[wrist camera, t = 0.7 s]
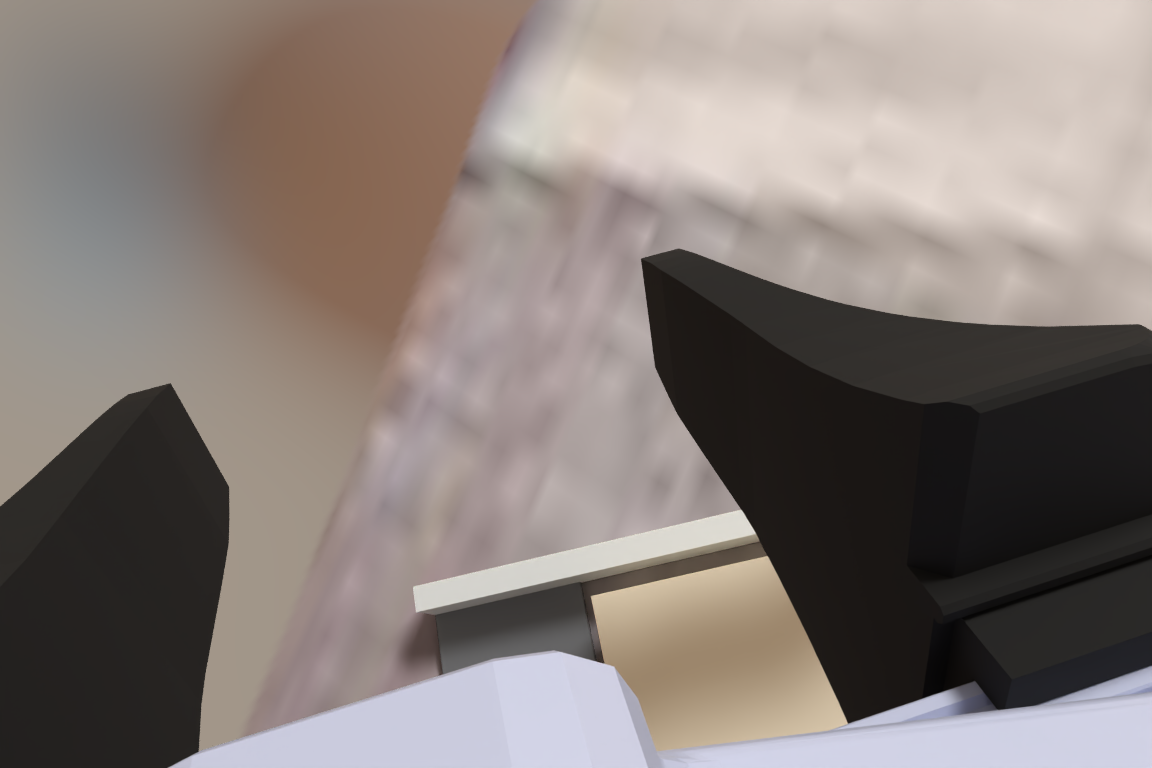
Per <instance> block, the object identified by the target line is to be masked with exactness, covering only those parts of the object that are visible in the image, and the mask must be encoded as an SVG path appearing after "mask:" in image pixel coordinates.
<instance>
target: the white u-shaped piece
mask: <svg viewBox="0 0 1152 768" xmlns="http://www.w3.org/2000/svg"><path fill="white" fill-rule="evenodd" d="M756 542H760V540H759V538H758V537H757V535H756V533H755V531H754V529H753V528H752V526H751V524H750V523H749V521H748V520H747V518H746V516H745V515H744V513H743V511H742V510H738V511H734V512H730V513H725V514H721V515H717V516H713V517H708V518H704V519H700V520H696V521H691V522H687V523H683V524H678V525H674V526H670V527H666V528H661V529H657V530H653V531H649V532H644V533H640V534H636V535H632V536H627V537H623V538H619V539H614V540H610V541H606V542H602V543H597V544H593V545H589V546H585V547H580V548H576V549H572V550H568V551H563V552H559V553H555V554H551V555H546V556H542V557H538V558H533V559H529V560H525V561H521V562H516V563H512V564H508V565H504V566H499V567H495V568H491V569H487V570H482V571H478V572H474V573H470V574H465V575H461V576H457V577H452V578H448V579H444V580H440V581H435V582H431V583H427V584H423V585H418V586H414V587H413V590H414V598H415V607H416V612H418V613H425V614H432V615H435V617H436V624H437V632H438V640H439V647H440V655H441V663H442V670H443V674H446V673H450V672H453V671H456V670H459V669H462V668H465V667H469V666H472V665H475V664H478V663H481V662H485V661H488V660H491V659H495V658H502V657H510V656H517V655H524V654H531V653H539V652H546V651H553V650H554V651H559V652H563V653H566V654H570V655H574V656H577V657H581V658H585V659H588V660H592V661H596V656H595V651H594V646H593V641H592V636H591V631H590V626H589V621H588V616H587V611H586V606H585V601H584V596H583V590H582V585H581V583H582V582H586V581H590V580H595V579H599V578H603V577H608V576H612V575H617V574H621V573H625V572H630V571H634V570H638V569H643V568H647V567H651V566H656V565H660V564H664V563H669V562H673V561H678V560H682V559H686V558H691V557H695V556H699V555H704V554H708V553H712V552H717V551H721V550H725V549H730V548H734V547H739V546H743V545H747V544H752V543H756ZM596 662H597V661H596Z"/></svg>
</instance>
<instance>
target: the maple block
mask: <svg viewBox="0 0 1152 768" xmlns="http://www.w3.org/2000/svg"><path fill="white" fill-rule="evenodd" d="M591 599H592V604H593V609H594V614H595V619H596V624H597V629H598V634H599V639H600V644H601V649H602V654H603V659H604V664H607V665H610V666H614V667H615V669H616V670H617V671H618V673H619V674H620V675H621V677H622V678H623V679H624V681H625V682H626V683H627V685H628V686H629V687H630V689H631V690H632V691H633V693H634V694H635V695H636V697H637V698H638V700H639V703H640V706H641V709H642V712H643V714H644V717H645V720H646V723H647V726H648V729H649V731H650V734H651V737H652V740H653V743H654V746H655V748H656V751H663V750H672V749H680V748H688V747H697V746H705V745H713V744H722V743H730V742H738V741H746V740H755V739H763V738H771V737H780V736H788V735H796V734H805V733H813V732H821V731H829V730H832V729H835V728H838V727H840V726H843V725H846V724H848V723H847V720H846V718H845V716H844V714H843V711H842V709H841V707H840V704H839V702H838V700H837V698H836V696H835V694H834V691H833V689H832V687H831V685H830V683H829V681H828V679H827V676H826V674H825V672H824V670H823V668H822V666H821V664H820V661H819V659H818V657H817V655H816V653H815V651H814V649H813V646H812V644H811V642H810V640H809V638H808V636H807V634H806V632H805V630H804V628H803V626H802V624H801V622H800V619H799V617H798V615H797V613H796V611H795V609H794V607H793V605H792V603H791V601H790V599H789V597H788V595H787V593H786V591H785V589H784V587H783V585H782V583H781V581H780V579H779V577H778V575H777V573H776V571H775V569H774V567H773V566H772V564H771V562H770V560H769V558H768V556H765V557H761V558H756V559H752V560H747V561H743V562H739V563H734V564H730V565H725V566H721V567H717V568H712V569H708V570H703V571H699V572H695V573H690V574H686V575H682V576H677V577H673V578H668V579H664V580H660V581H655V582H651V583H646V584H642V585H638V586H633V587H629V588H624V589H620V590H616V591H611V592H607V593H602V594H598V595H594V596H591Z"/></svg>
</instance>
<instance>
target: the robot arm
mask: <svg viewBox="0 0 1152 768" xmlns="http://www.w3.org/2000/svg"><path fill="white" fill-rule="evenodd" d="M641 262H642V269H643V277H644V285H645V292H646V300H647V308H648V315H649V323H650V331H651V338H652V346H653V354H654V361H655V368H656V370H657V372H658V374H659V376H660V379H661V381H662V383H663V385H664V387H665V390H666V392H667V394H668V396H669V398H670V400H671V402H672V404H673V406H674V408H675V410H676V412H677V414H678V416H679V417H680V419H681V420H682V422H683V423H684V425H685V427H686V428H687V430H688V431H689V433H690V434H691V436H692V437H693V439H694V440H695V442H696V443H697V445H698V446H699V448H700V449H701V451H702V452H703V454H704V455H705V456H706V458H707V459H708V461H709V462H710V464H711V465H712V467H713V468H714V470H715V471H716V473H717V474H718V476H719V477H720V479H721V480H722V482H723V483H724V485H725V486H726V488H727V489H728V490H729V492H730V493H731V495H732V496H733V498H734V499H735V501H736V502H737V504H738V505H739V507H740V508H741V510H742V511H743V513H744V515H745V516H746V518H747V520H748V521H749V523H750V524H751V526H752V528H753V529H754V531H755V533H756V535H757V537H758V538H759V540H760V542H761V544H762V546H763V548H764V550H765V552H766V554H767V556H768V558H769V560H770V562H771V564H772V566H773V567H774V569H775V571H776V573H777V575H778V577H779V579H780V581H781V583H782V585H783V587H784V589H785V591H786V593H787V595H788V597H789V599H790V601H791V603H792V605H793V607H794V609H795V611H796V613H797V615H798V617H799V619H800V622H801V624H802V626H803V628H804V630H805V632H806V634H807V636H808V638H809V640H810V642H811V644H812V646H813V649H814V651H815V653H816V655H817V657H818V659H819V661H820V664H821V666H822V668H823V670H824V672H825V674H826V676H827V679H828V681H829V683H830V685H831V687H832V689H833V691H834V694H835V696H836V698H837V700H838V702H839V704H840V707H841V709H842V711H843V714H844V716H845V718H846V720H847V723H848V724H846V725H843V726H840V727H838V728H835V729H832V730H829V731H821V732H813V733H805V734H796V735H788V736H780V737H771V738H763V739H755V740H746V741H738V742H730V743H722V744H713V745H705V746H697V747H688V748H680V749H672V750H663V751H656V748H655V746H654V743H653V740H652V737H651V734H650V731H649V729H648V726H647V723H646V720H645V717H644V714H643V712H642V709H641V706H640V703H639V700H638V698H637V697H636V695H635V694H634V693H633V691H632V690H631V689H630V687H629V686H628V685H627V683H626V682H625V681H624V679H623V678H622V677H621V675H620V674H619V673H618V671H617V670H616V669H615V667H614V666H610V665H607V664H603V663H599V662H596V661H592V660H588V659H585V658H581V657H577V656H574V655H570V654H566V653H563V652H559V651H554V650H553V651H546V652H539V653H531V654H524V655H517V656H510V657H502V658H495V659H491V660H488V661H485V662H481V663H478V664H475V665H472V666H469V667H465V668H462V669H459V670H456V671H453V672H450V673H446V674H443V675H440V676H437V677H434V678H430V679H427V680H424V681H421V682H418V683H415V684H411V685H408V686H405V687H402V688H399V689H395V690H392V691H389V692H386V693H383V694H379V695H376V696H373V697H370V698H367V699H364V700H360V701H357V702H354V703H351V704H348V705H344V706H341V707H338V708H335V709H332V710H329V711H325V712H322V713H319V714H316V715H313V716H309V717H306V718H303V719H300V720H297V721H294V722H290V723H287V724H284V725H281V726H278V727H274V728H271V729H268V730H265V731H262V732H259V733H255V734H252V735H249V736H246V737H243V738H239V739H236V740H233V741H230V742H227V743H224V744H220V745H217V746H214V747H211V748H208V749H204V750H201V751H198V750H199V735H200V718H201V703H202V695H203V688H204V680H205V673H206V667H207V662H208V656H209V650H210V645H211V640H212V635H213V629H214V623H215V618H216V613H217V608H218V602H219V597H220V591H221V586H222V580H223V574H224V568H225V562H226V556H227V550H228V543H229V541H228V540H229V486H228V484H227V482H226V481H225V479H224V477H223V475H222V474H221V472H220V470H219V468H218V467H217V465H216V463H215V461H214V459H213V458H212V456H211V454H210V453H209V451H208V449H207V447H206V445H205V443H204V442H203V440H202V438H201V436H200V435H199V433H198V431H197V429H196V428H195V426H194V424H193V422H192V420H191V419H190V417H189V415H188V413H187V412H186V410H185V408H184V406H183V404H182V403H181V401H180V399H179V398H178V396H177V394H176V392H175V390H174V388H173V387H172V385H171V384H166V385H162V386H159V387H155V388H151V389H148V390H144V391H140V392H136V393H132V394H128V395H127V396H126V397H124V398H123V399H121V400H120V401H119V402H117V403H116V404H114V405H113V406H112V407H111V408H109V409H108V410H107V411H106V412H105V413H104V414H102V415H101V416H100V417H99V418H98V419H97V420H95V421H94V422H93V423H92V424H91V425H90V426H89V427H88V428H87V429H86V430H84V431H83V432H82V433H81V434H80V435H79V436H78V437H77V438H76V439H75V440H74V441H73V442H71V443H70V444H69V445H68V446H67V447H66V448H65V449H64V450H63V451H62V452H61V453H60V454H59V455H58V456H56V457H55V458H54V459H53V460H52V461H51V462H50V463H49V464H48V465H47V466H46V467H44V468H43V469H42V470H41V471H40V472H39V473H38V474H37V475H36V476H35V477H34V478H33V479H31V480H30V481H29V482H28V483H27V484H26V485H25V486H24V487H22V488H21V489H20V490H19V491H18V492H17V493H15V494H14V495H13V496H12V497H11V498H10V499H8V500H7V501H6V502H5V503H4V504H3V505H2V506H0V768H1152V331H1151V330H1149V329H1147V328H1146V327H1144V326H1142V325H1139V324H1134V325H1096V326H1057V327H1037V326H1010V325H987V324H973V323H960V322H950V321H942V320H934V319H925V318H917V317H909V316H903V315H897V314H890V313H885V312H880V311H875V310H870V309H865V308H861V307H856V306H851V305H846V304H842V303H838V302H834V301H830V300H826V299H823V298H820V297H816V296H813V295H810V294H806V293H803V292H799V291H796V290H793V289H790V288H787V287H784V286H781V285H778V284H775V283H772V282H769V281H766V280H763V279H761V278H758V277H755V276H753V275H750V274H747V273H745V272H742V271H739V270H737V269H734V268H732V267H729V266H726V265H724V264H721V263H719V262H716V261H714V260H711V259H708V258H706V257H703V256H700V255H698V254H695V253H692V252H689V251H686V250H682V249H675V250H672V251H668V252H664V253H660V254H657V255H653V256H649V257H645V258H641Z"/></svg>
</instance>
